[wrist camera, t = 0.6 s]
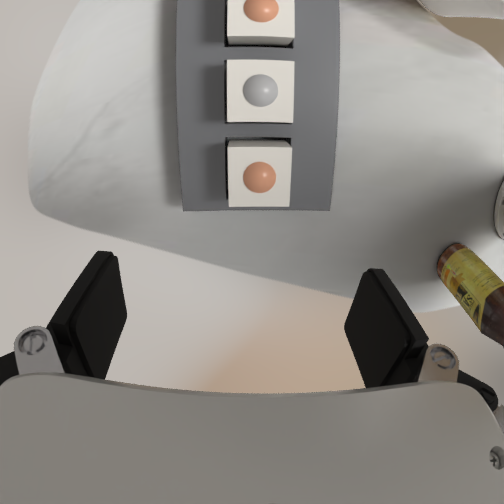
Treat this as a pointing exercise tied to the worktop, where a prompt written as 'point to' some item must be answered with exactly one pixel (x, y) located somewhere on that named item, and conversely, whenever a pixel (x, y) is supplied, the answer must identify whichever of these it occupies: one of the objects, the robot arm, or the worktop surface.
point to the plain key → (260, 91)
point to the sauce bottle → (474, 289)
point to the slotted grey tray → (217, 128)
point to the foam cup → (466, 8)
